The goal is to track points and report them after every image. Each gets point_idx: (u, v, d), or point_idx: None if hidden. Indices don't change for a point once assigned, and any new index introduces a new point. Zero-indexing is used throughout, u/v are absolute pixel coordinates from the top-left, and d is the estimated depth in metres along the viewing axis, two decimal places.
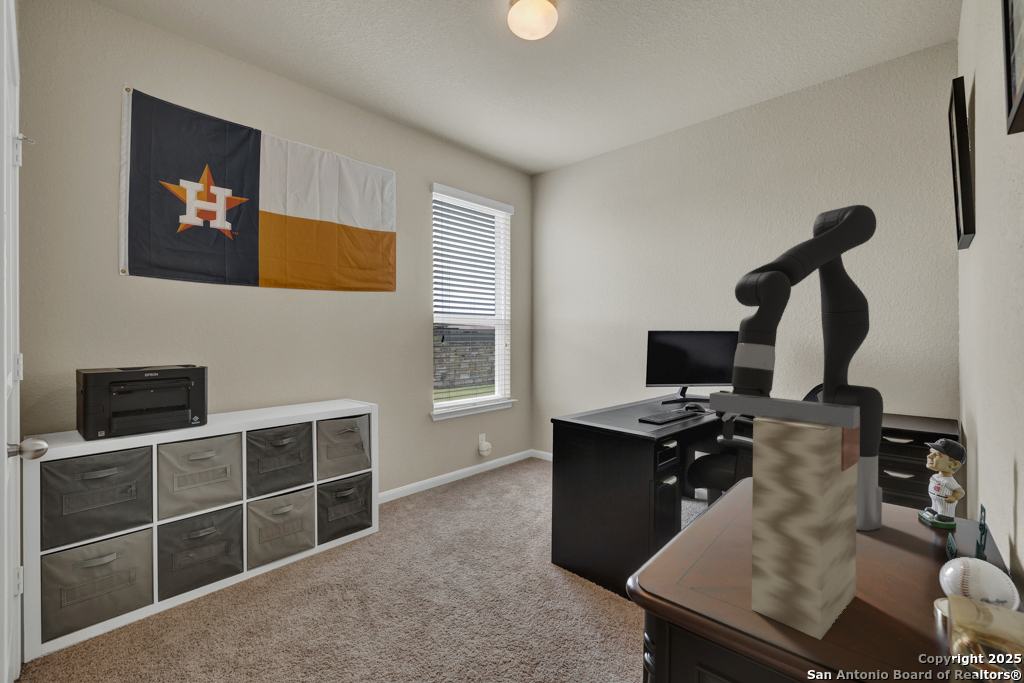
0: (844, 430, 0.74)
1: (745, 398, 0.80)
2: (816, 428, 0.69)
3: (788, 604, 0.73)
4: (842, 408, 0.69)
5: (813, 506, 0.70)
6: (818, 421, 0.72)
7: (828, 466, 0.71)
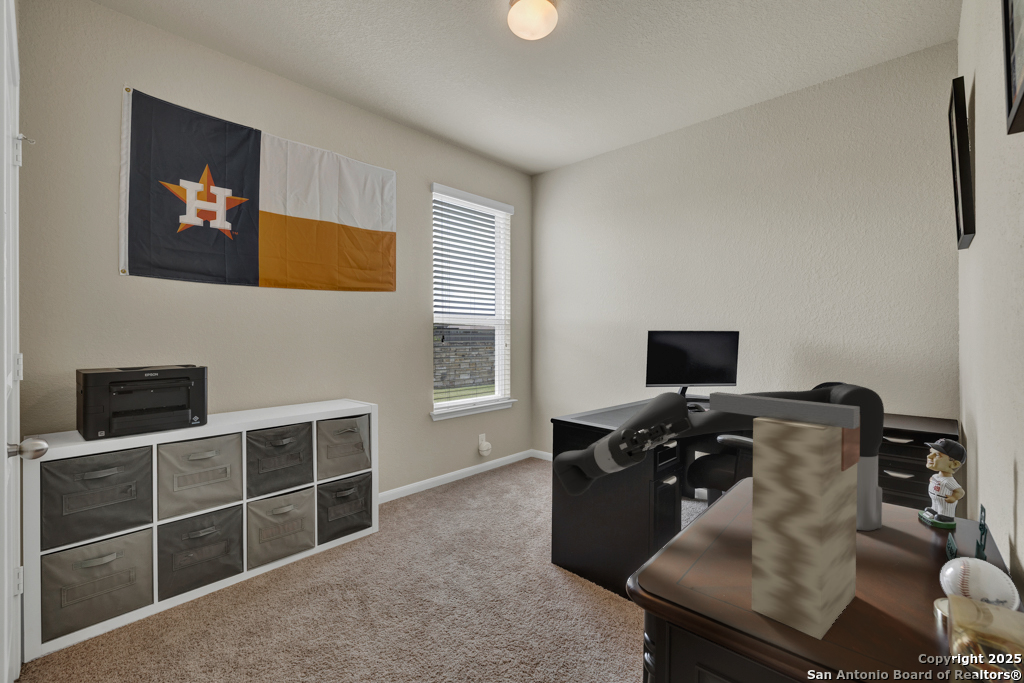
0: (844, 430, 0.74)
1: (745, 398, 0.80)
2: (816, 428, 0.69)
3: (788, 604, 0.73)
4: (842, 408, 0.69)
5: (813, 506, 0.70)
6: (818, 421, 0.72)
7: (828, 466, 0.71)
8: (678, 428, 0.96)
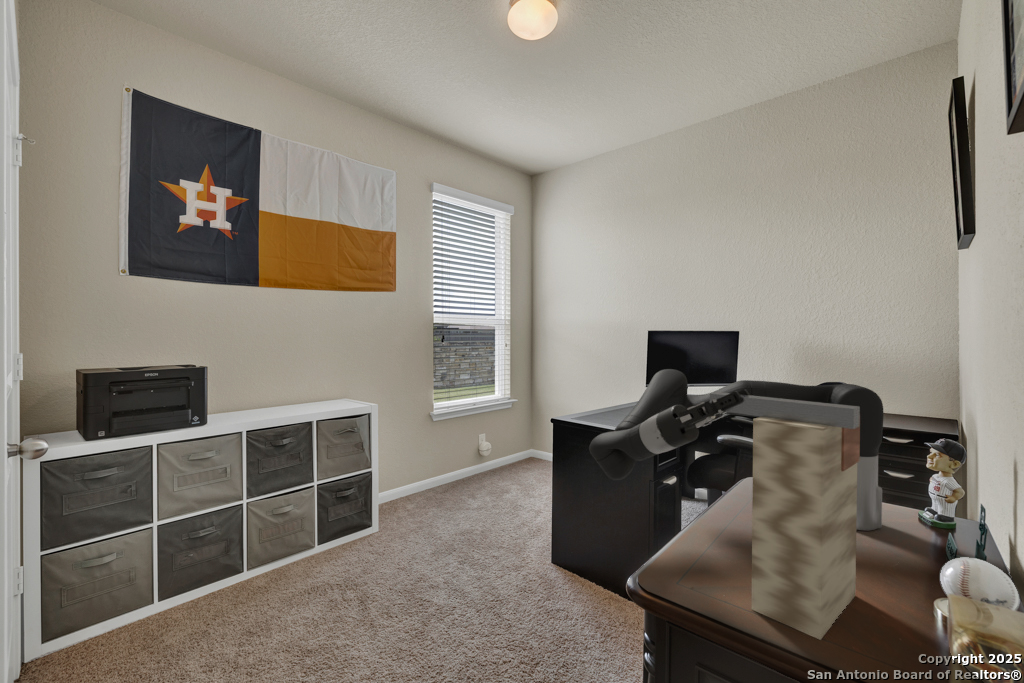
0: (844, 430, 0.74)
1: (745, 398, 0.80)
2: (816, 428, 0.69)
3: (788, 604, 0.73)
4: (842, 408, 0.69)
5: (813, 506, 0.70)
6: (818, 421, 0.72)
7: (828, 466, 0.71)
8: None
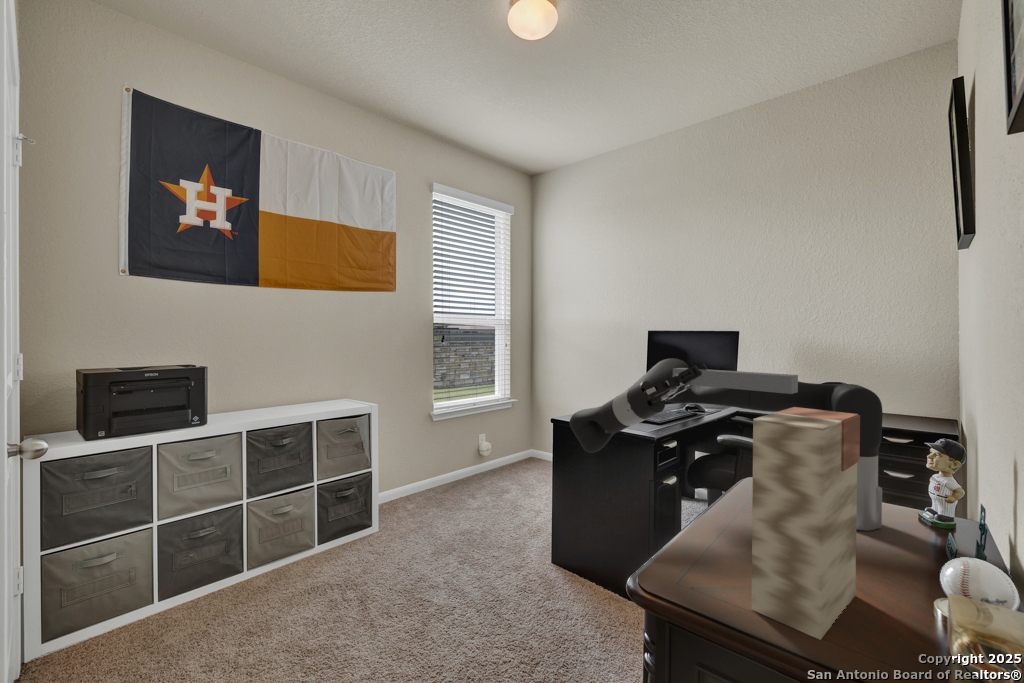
0: (844, 430, 0.74)
1: (702, 371, 0.90)
2: (816, 428, 0.69)
3: (788, 604, 0.73)
4: (782, 376, 0.79)
5: (813, 506, 0.70)
6: (763, 388, 0.82)
7: (828, 466, 0.71)
8: None
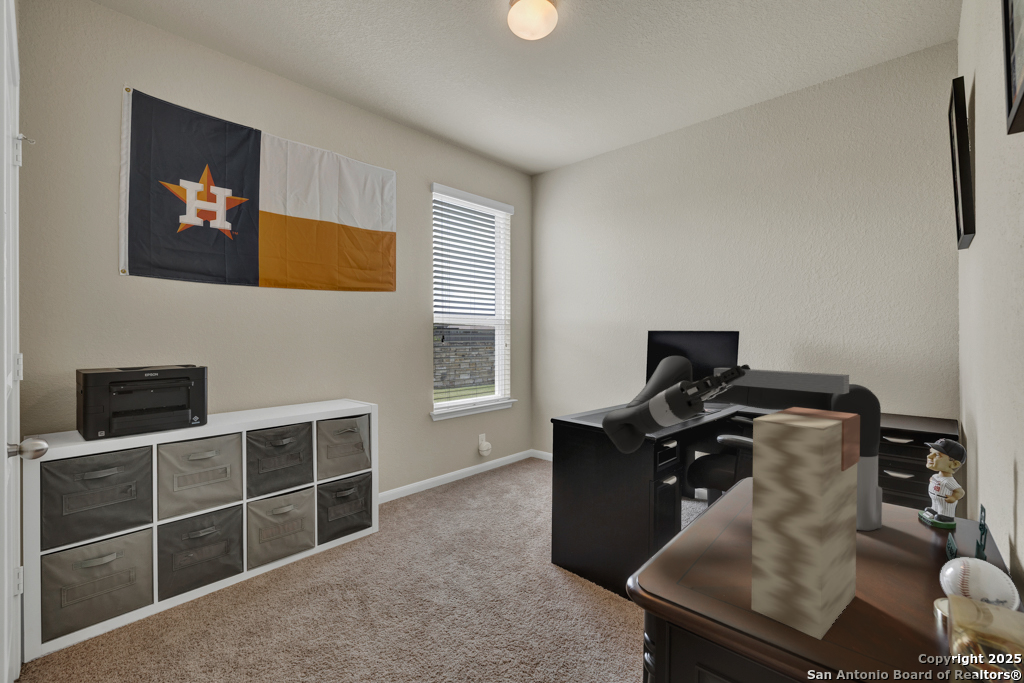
0: (844, 430, 0.74)
1: (746, 371, 0.88)
2: (816, 428, 0.69)
3: (788, 604, 0.73)
4: (833, 376, 0.77)
5: (813, 506, 0.70)
6: (812, 389, 0.80)
7: (828, 466, 0.71)
8: None
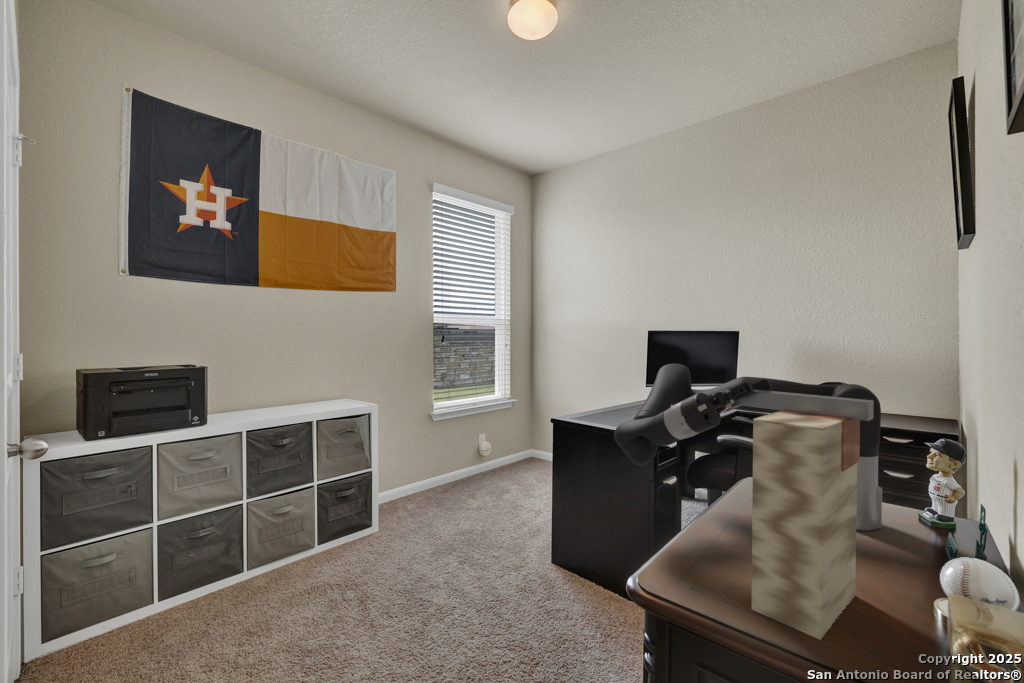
0: (844, 430, 0.74)
1: (765, 393, 0.86)
2: (816, 428, 0.69)
3: (788, 604, 0.73)
4: (857, 402, 0.75)
5: (813, 506, 0.70)
6: (835, 414, 0.78)
7: (828, 466, 0.71)
8: None
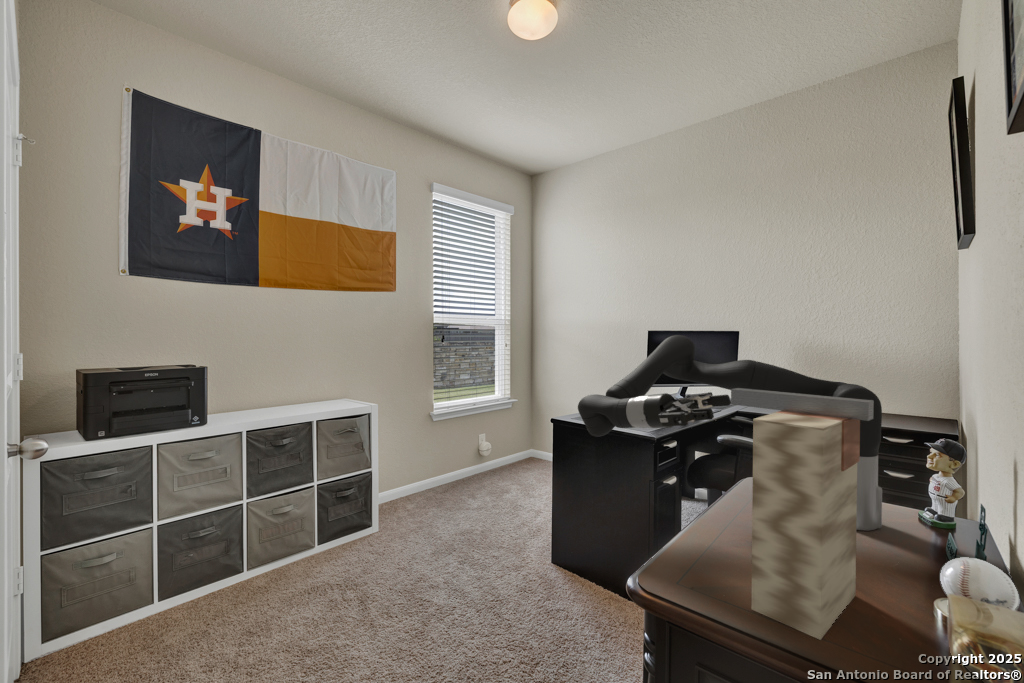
0: (844, 430, 0.74)
1: (765, 393, 0.86)
2: (816, 428, 0.69)
3: (788, 604, 0.73)
4: (857, 402, 0.75)
5: (813, 506, 0.70)
6: (835, 414, 0.78)
7: (828, 466, 0.71)
8: (717, 402, 0.98)
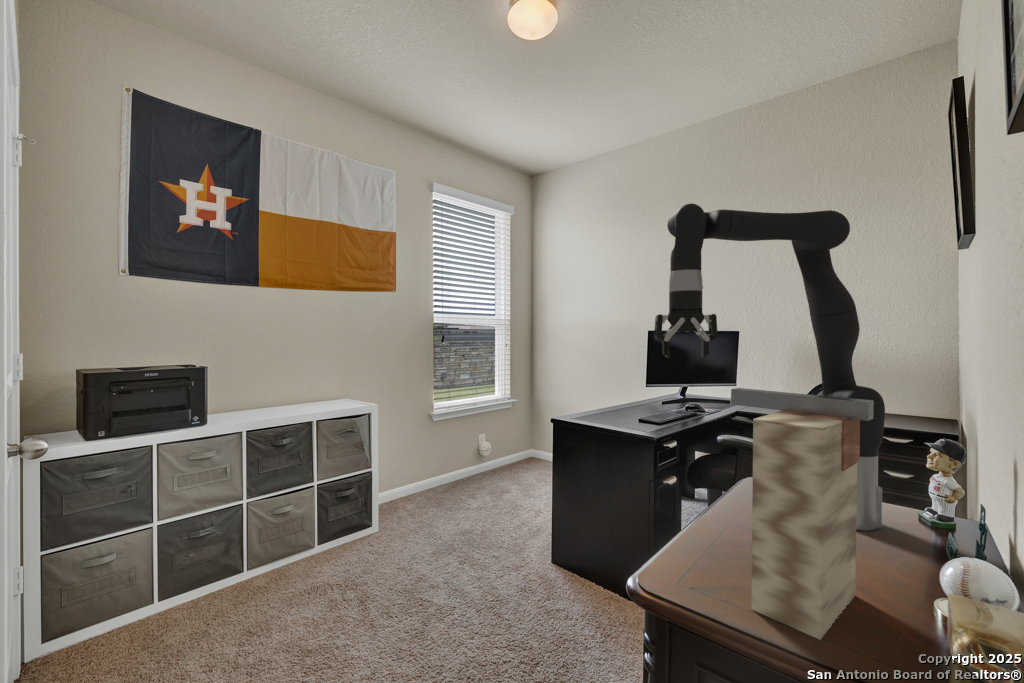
0: (844, 430, 0.74)
1: (765, 393, 0.86)
2: (816, 428, 0.69)
3: (788, 604, 0.73)
4: (857, 402, 0.75)
5: (813, 506, 0.70)
6: (835, 414, 0.78)
7: (828, 466, 0.71)
8: (701, 346, 1.12)
